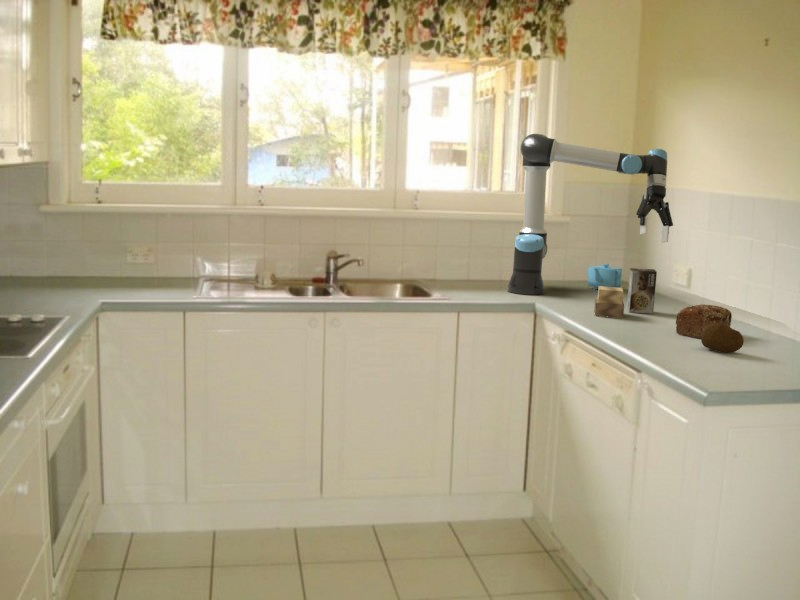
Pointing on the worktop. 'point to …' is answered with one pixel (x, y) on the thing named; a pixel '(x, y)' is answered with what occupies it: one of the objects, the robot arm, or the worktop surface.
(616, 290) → the tower top
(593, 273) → the teapot
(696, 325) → the bread
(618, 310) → the tower base
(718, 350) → the potato
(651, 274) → the coffee box
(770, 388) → the worktop surface
